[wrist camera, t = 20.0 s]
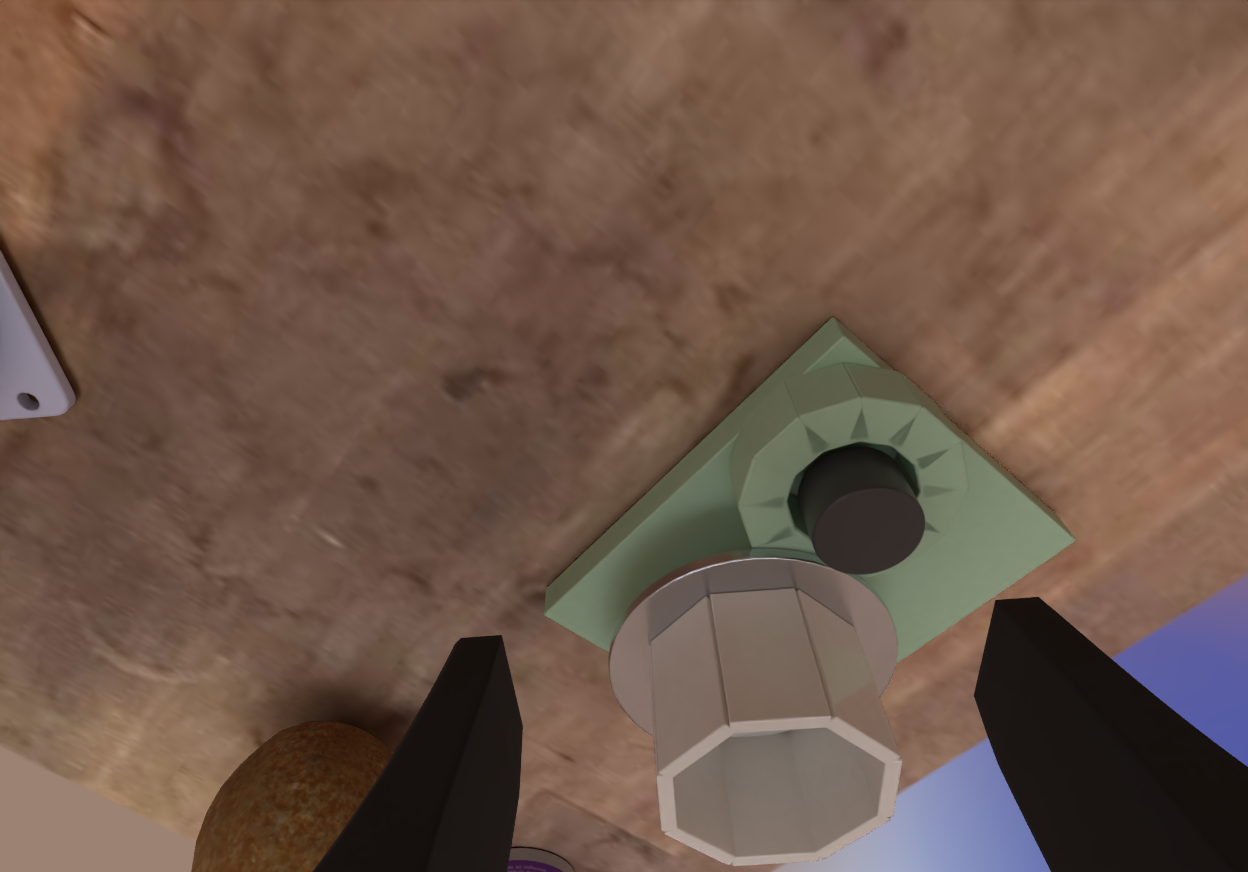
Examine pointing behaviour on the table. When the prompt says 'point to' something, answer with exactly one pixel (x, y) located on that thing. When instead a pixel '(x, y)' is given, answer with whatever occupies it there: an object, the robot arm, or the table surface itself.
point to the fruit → (290, 799)
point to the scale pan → (741, 575)
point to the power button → (860, 511)
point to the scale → (769, 509)
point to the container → (536, 861)
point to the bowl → (768, 730)
